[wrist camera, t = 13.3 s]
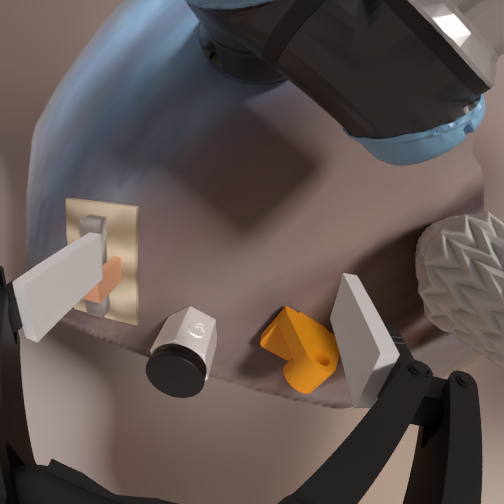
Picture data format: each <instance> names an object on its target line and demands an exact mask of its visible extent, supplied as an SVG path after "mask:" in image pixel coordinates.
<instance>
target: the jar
mask: <svg viewBox="0 0 504 504" xmlns="http://www.w3.org/2000/svg"><path fill="white" fill-rule="evenodd" d="M216 345H217V332H216V320H215V319H214V318H212V317H210V316H208V315H206V314H204V313H202V312H201V311H199V310H197V309H195V308H193V307H192V306H189V307H187V308H185V309H183V310H181V311H179V312H176V313H174V314H172V315H170V316H169V317H168V318H167V320H166V322H165V324H164V326H163V327H162V329H161V331H160V333H159V335H158V337H157V338H156V340H155V342H154V344H153V346H152V348H151V350H150V352H151V356H150V358H149V361H148V362H147V365H146V374H147V377H148V379H149V381H150V382H151V383H152V384H153V386H155V387H156V388H157V389H158V390H160V391H161V392H163V393H165V394H167V395H170V396H173V397H179V398H187V397H192V396H195V395H196V394H198V393H199V392H200V391H201V390H202V388H203V386H204V382H205V380H207V379H208V375H209V372H210V368H211V364H212V360H213V356H214V352H215V349H216Z"/></svg>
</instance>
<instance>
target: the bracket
mask: <svg viewBox="0 0 504 504" xmlns="http://www.w3.org/2000/svg"><path fill="white" fill-rule="evenodd" d="M261 346H262V347H263V348H265V349H267V350H268V351H270V352H272V353H274V354H276V355H278V356H279V357H281V358H283V359H285V360H287V361H289V362H288V363H287V364H286V365H285V366H284V368H283V373H284V376H285V378H286V380H287V381H288V383H289V384H290V385H291V386H292V387H293V388H294V389H296V390H297V391H299V392H301V393H305V394H309V393H311V392H312V391H313V390H315V389H316V388H317V387H318V386H319V385H320V384H321V383H322V382H323V381H325V380H326V379H327V378H328V377H329V376H330V375H331V374H332V373H333V372H334V371H335V370H336V366H337V362H338V358H339V354H340V352H339V349H338V345H337V341H336V338H335V335H334V334H332V333H331V332H329V331H328V330H327V328H326V327H324V326H323V325H321V324H319V323H318V322H316V321H315V320H313V319H311V318H310V317H308V316H306V315H305V314H303V313H301V312H300V311H299V312H296V311H294V310H293V309H291V308H289V307H288V306H285V307H284V308H283V310H282V311H281V312H280V313H279V314H278V316H277V317H276V318H275V319H274V320H273V321H272V323H271V324H270V325H269V326H268V327H267V328H266V330H265V331H264V332H263V333H262V334H261Z"/></svg>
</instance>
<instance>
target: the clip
mask: <svg viewBox="0 0 504 504" xmlns="http://www.w3.org/2000/svg"><path fill="white" fill-rule="evenodd" d="M102 274H103V279H102V280H101V281H100V282H99V283H98V284H97V285H96V286H95V287H94V288H93V289H92V290H90V291H89V292H88V293H87V294H86V295H85V296H84V297H83V298H82V299H84V300H88V301H92V302H96V303H99V304H100V303H101V302H102V301H103V300H104V298H105V297H106V296H107V295H108V294H109V293H110V292H111V291H112V290H113V289H114V288H115V287H116V286H117V285H118V284H119V283H120V282H121V281H122V279H121V257H117V256H114V257H112V258H111V259H110V260H109V261H107V262H106V263H105V264H104V265H103V266H102Z"/></svg>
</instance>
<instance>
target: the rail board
mask: <svg viewBox="0 0 504 504" xmlns="http://www.w3.org/2000/svg"><path fill="white" fill-rule="evenodd" d="M138 224H139V206H135V205H127V204H119V203H111V202H103V201H95V200H86V199H77V198H67V199H66V232H67V246H68V245H69V244H71V243H73V242H74V241H76V240H78V239H79V238H81V237H83V236H84V235H86V234H88V233H89V232H91V233H97V234H101V254H102V266H103V265H104V264H105V263H106V262H107V261H109V260H110V259H111V258H112V257H114V256H117V257H121V279H122V281H121V282H120V283H119V284H118V285H117V286H116V287H115V288H114V289H113V290H112V291H111V292H110V293H109V294H108V295H107V296H106V297H105V298H104V300H103V301H102V302H101V303H100V304H99V303H96V302H92V301H88V300H84V299H81V300H80V301H79V302H78V303H77V304H76V305H75V306H74V309H76V310H80V311H83V312H87V314H88V315H92V316H95V317H99V318H103V317H105V318H109V319H113V320H116V321H120V322H124V323H128V324H132V325H138V324H139V305H138Z"/></svg>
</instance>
